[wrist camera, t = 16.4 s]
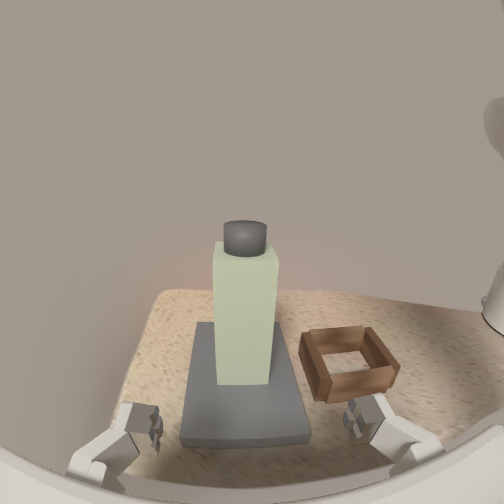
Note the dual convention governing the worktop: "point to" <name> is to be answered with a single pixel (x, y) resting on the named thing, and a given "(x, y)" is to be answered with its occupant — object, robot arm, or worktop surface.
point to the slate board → (241, 402)
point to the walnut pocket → (353, 382)
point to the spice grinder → (244, 303)
